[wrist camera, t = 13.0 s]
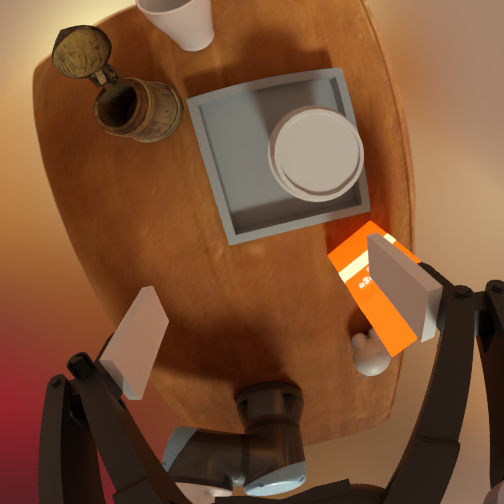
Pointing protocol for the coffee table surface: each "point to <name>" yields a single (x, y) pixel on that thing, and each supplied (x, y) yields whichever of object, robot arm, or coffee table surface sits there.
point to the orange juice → (372, 288)
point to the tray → (266, 152)
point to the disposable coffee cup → (315, 153)
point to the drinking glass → (181, 21)
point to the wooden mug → (117, 88)
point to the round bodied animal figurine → (370, 353)
